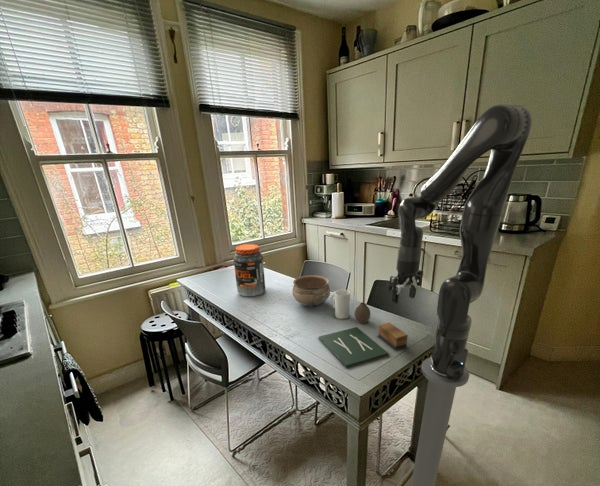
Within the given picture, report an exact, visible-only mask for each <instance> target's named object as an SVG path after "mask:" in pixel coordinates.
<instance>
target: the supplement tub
mask: <svg viewBox="0 0 600 486" xmlns="http://www.w3.org/2000/svg"><path fill="white" fill-rule="evenodd" d="M260 251H261V250H260V246H259V245H258V244H256V243H255V244H254V243H246V244H240V245H236V247H235V254H234V256H233V266H234V276H235V283H236V292H237V293H238V295H240V296H243V297H255V296H259V295H262V294H263V293H264V292H266V277H265V267H264V266H265V265H264V264H265V263H264V256H263V254H262V252H260Z"/></svg>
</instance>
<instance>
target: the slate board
mask: <svg viewBox="0 0 600 486" xmlns="http://www.w3.org/2000/svg"><path fill="white" fill-rule="evenodd" d="M318 339H319V340H320V342H321V343H322V344H323V345H324V346H325V347H326V348H327V349H328V350H329V351H330V353H332V355H333V356H335V357H336V359H337V360H338V361H339V362H340V363H341V364H342V365H343V366H344V367H345V368H347V369H348V368H351V367H354V366H357V365H360V364H364V363H367V362H370V361H373V360H377V359H380V358H383V357H388V356H389V352H388V351H387V350H386V349H384V348H383V347H382V346H381V345H379V344H378V343H377V342H376V341H374V340H373V339H372V338H371V337H369V336H368V335H367V334H366V333H364V332H363V331H362V330H361V329H360V328H358V327H357V326H355V327H351V328H347V329H343V330H339V331H336V332H332V333H327V334H324V335H320V336H318Z"/></svg>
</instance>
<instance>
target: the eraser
mask: <svg viewBox="0 0 600 486" xmlns="http://www.w3.org/2000/svg"><path fill="white" fill-rule="evenodd" d="M408 335H409V334H407V333H405V332H404V331H402V329H400V328H398V327H397V326H396V325H394V324H392V323H391V322H386V323H383V324H379V326H378V338H379V339H380V340H382V341H383V342H384V343H385V344H386V345H388V346H390V347H391V348H392V349H393V350H394V351H397V350H401V349H405V348H407V343H408V338H409V337H408Z"/></svg>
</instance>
